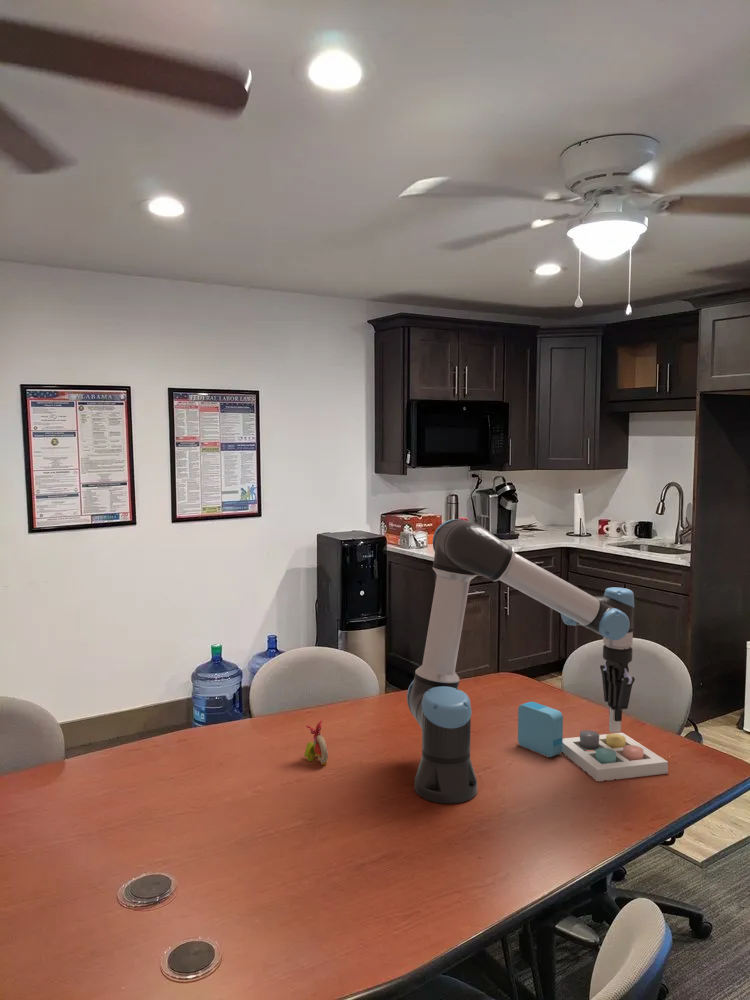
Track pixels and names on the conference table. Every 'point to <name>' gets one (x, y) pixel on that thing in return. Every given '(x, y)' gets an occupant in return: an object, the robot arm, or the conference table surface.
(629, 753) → the coral button
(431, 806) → the conference table surface
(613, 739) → the mustard button
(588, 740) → the charcoal button
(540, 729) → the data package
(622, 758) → the tray
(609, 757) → the teal button
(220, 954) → the conference table surface
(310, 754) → the bird rattle
